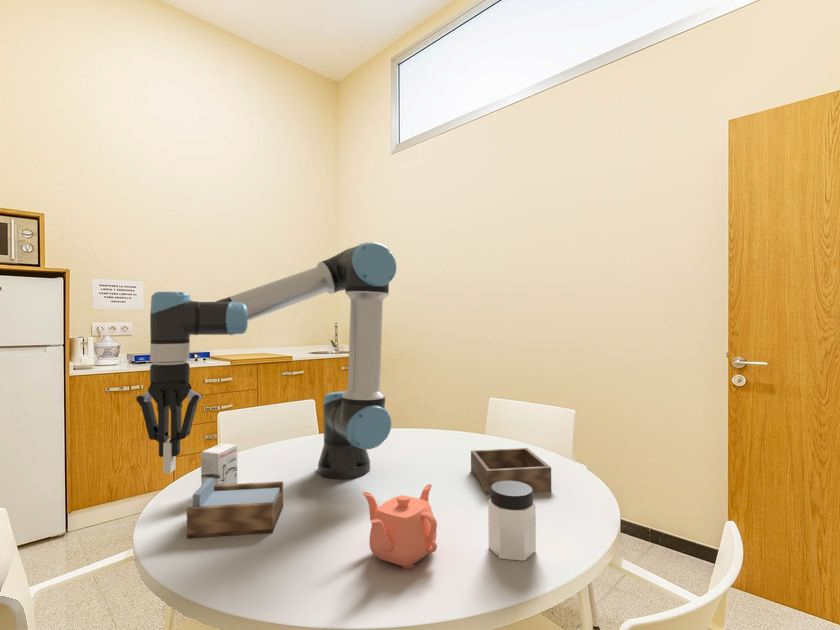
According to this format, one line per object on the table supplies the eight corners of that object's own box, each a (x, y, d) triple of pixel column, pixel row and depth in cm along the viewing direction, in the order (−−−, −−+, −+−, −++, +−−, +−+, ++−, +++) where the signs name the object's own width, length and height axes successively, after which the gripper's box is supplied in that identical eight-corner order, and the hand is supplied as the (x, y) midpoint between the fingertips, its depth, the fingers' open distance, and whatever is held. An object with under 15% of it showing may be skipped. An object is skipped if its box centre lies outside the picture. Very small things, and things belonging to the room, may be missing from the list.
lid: (279, 492, 107) (279, 474, 106) (271, 510, 97) (271, 491, 97) (208, 496, 104) (208, 478, 104) (192, 515, 95) (192, 495, 95)
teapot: (371, 582, 78) (370, 518, 78) (362, 541, 92) (361, 487, 91) (452, 570, 81) (451, 508, 81) (431, 532, 95) (431, 480, 95)
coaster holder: (527, 468, 133) (527, 447, 133) (551, 490, 117) (551, 467, 117) (471, 471, 131) (470, 450, 131) (487, 494, 114) (486, 470, 114)
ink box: (218, 501, 112) (217, 453, 112) (200, 499, 113) (199, 452, 113) (238, 487, 120) (238, 443, 120) (221, 486, 121) (221, 442, 121)
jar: (504, 534, 94) (504, 476, 94) (541, 547, 89) (541, 486, 89) (481, 551, 87) (481, 489, 87) (519, 567, 82) (519, 500, 82)
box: (283, 506, 108) (283, 481, 108) (272, 532, 95) (272, 504, 95) (208, 511, 106) (208, 485, 106) (187, 538, 93) (186, 509, 93)
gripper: (207, 360, 103) (206, 464, 103) (146, 361, 101) (145, 466, 101) (195, 364, 96) (194, 476, 96) (129, 364, 94) (128, 478, 94)
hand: (169, 471), depth 99 cm, fingers closed
